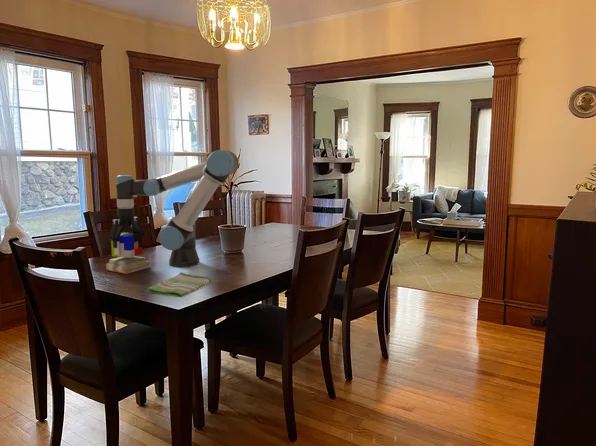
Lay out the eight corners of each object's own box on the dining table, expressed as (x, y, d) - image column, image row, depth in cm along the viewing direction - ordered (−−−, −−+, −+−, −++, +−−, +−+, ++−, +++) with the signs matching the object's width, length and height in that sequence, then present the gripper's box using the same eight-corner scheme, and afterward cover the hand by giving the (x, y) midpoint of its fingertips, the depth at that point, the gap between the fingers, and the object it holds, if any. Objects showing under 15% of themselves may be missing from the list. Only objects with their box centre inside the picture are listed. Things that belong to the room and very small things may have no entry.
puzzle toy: (130, 257, 208) (129, 236, 206) (111, 256, 210) (110, 235, 208) (142, 253, 217) (141, 233, 216) (124, 252, 219) (123, 232, 218)
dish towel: (212, 283, 193) (212, 275, 192) (182, 298, 171) (182, 289, 171) (179, 279, 198) (179, 271, 198) (146, 293, 177) (145, 285, 176)
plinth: (149, 267, 217) (149, 257, 217) (126, 273, 205) (126, 263, 204) (129, 264, 224) (129, 254, 223) (106, 269, 212) (105, 259, 211)
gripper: (139, 205, 222) (140, 247, 225) (98, 209, 202) (101, 255, 205) (150, 206, 219) (151, 249, 222) (110, 210, 198) (112, 257, 201)
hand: (127, 252), depth 213 cm, fingers closed on puzzle toy, 11 cm apart
